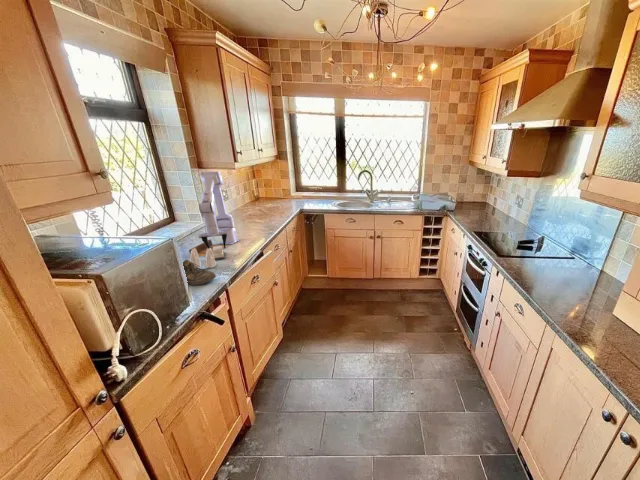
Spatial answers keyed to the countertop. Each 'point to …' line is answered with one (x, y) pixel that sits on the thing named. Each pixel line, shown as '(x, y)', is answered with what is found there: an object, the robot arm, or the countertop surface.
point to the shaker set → (209, 258)
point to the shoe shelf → (205, 248)
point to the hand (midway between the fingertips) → (217, 248)
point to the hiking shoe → (197, 274)
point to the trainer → (218, 252)
